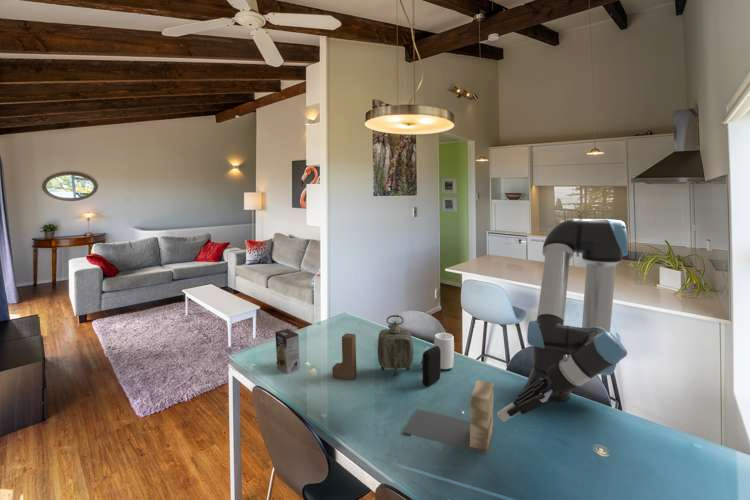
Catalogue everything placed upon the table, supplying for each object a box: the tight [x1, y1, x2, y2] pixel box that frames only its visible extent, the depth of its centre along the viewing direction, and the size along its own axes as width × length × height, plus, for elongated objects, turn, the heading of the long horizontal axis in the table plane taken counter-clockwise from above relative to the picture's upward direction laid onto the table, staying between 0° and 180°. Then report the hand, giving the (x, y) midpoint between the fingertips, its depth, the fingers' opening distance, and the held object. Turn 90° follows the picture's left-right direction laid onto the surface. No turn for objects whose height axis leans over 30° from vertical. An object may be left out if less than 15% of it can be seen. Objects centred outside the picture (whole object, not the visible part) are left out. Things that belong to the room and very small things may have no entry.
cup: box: [433, 332, 455, 370], centre depth 164 cm, size 8×8×14 cm
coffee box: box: [274, 328, 301, 375], centre depth 165 cm, size 9×6×16 cm
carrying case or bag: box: [421, 345, 441, 388], centre depth 150 cm, size 11×3×15 cm, turn 134°
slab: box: [469, 380, 495, 451], centre depth 115 cm, size 5×10×16 cm, turn 155°
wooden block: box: [331, 332, 357, 381], centre depth 157 cm, size 9×4×18 cm, turn 72°
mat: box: [402, 408, 496, 456], centre depth 121 cm, size 26×14×1 cm, turn 65°
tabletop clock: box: [377, 314, 414, 377], centre depth 158 cm, size 14×9×25 cm, turn 88°
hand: (500, 417), depth 113 cm, fingers closed
